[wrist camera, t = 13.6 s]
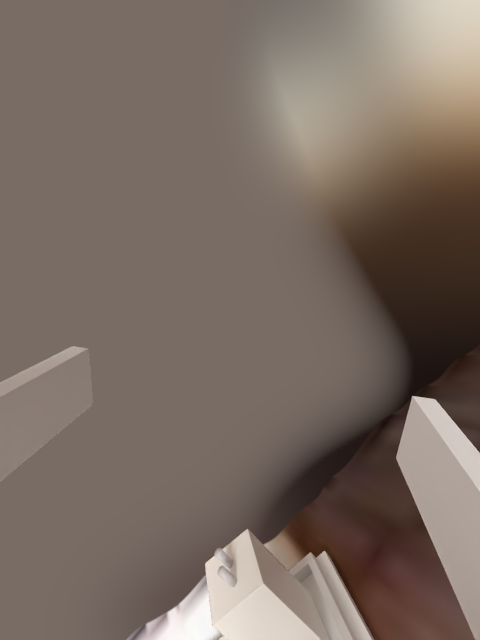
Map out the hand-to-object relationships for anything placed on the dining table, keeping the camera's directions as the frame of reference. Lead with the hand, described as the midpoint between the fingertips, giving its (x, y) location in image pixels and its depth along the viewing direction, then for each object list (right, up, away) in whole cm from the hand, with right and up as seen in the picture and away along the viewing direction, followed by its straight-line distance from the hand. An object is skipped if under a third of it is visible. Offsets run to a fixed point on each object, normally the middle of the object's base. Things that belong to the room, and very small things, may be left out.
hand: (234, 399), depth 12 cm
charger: (+6, -28, +17) cm, 33 cm away
